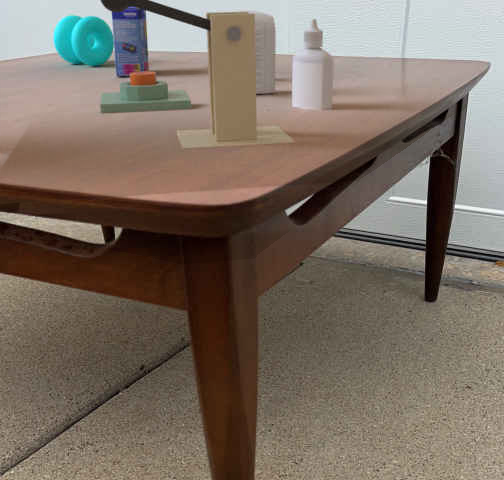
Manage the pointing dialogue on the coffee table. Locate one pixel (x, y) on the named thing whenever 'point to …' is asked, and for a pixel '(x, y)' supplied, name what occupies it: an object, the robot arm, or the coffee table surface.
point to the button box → (144, 98)
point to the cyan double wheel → (83, 40)
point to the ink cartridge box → (130, 41)
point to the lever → (158, 11)
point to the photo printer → (264, 52)
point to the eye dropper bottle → (312, 73)
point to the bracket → (232, 87)
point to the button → (143, 78)
